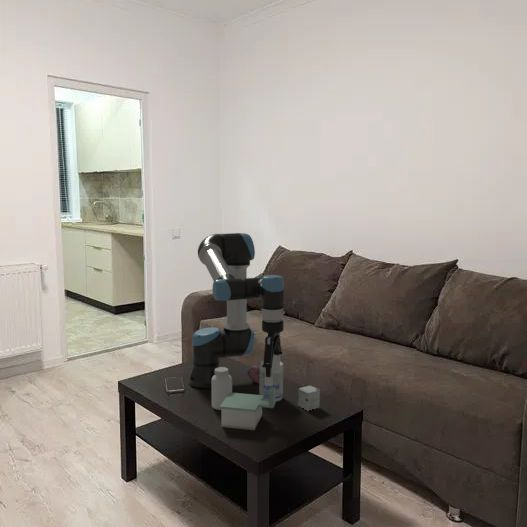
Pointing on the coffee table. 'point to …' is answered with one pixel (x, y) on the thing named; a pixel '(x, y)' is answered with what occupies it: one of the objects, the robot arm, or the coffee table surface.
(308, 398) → the skincare box
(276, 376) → the supplement tub
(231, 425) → the box
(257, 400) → the lid
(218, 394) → the pill bottle
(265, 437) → the coffee table surface
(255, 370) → the video game controller
